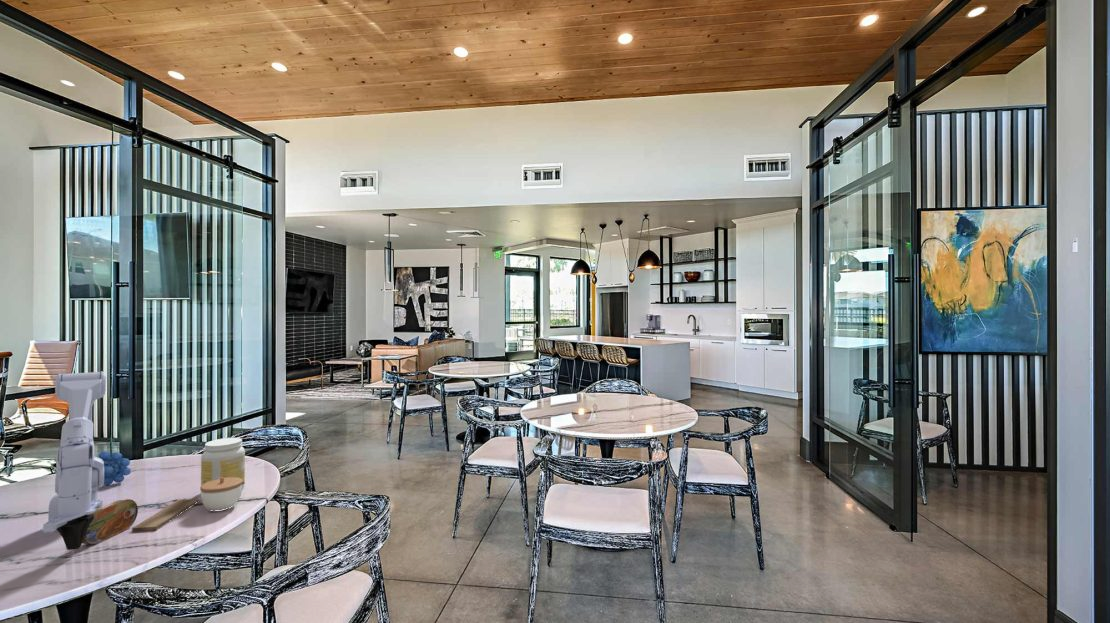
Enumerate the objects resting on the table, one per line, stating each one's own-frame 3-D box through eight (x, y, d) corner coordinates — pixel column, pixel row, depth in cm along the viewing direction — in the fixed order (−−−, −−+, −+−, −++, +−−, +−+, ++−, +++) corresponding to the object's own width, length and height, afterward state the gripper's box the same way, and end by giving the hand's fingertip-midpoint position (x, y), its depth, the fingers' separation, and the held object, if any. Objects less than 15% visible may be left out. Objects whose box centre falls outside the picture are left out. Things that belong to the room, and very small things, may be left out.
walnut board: (132, 531, 129) (132, 527, 129) (178, 503, 149) (178, 499, 149) (156, 530, 130) (156, 526, 130) (199, 502, 149) (199, 498, 149)
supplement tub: (248, 483, 167) (249, 435, 167) (239, 495, 155) (240, 444, 156) (207, 487, 162) (208, 438, 162) (194, 500, 151) (195, 447, 151)
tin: (84, 550, 119) (85, 517, 119) (72, 550, 119) (73, 516, 119) (138, 524, 134) (139, 494, 134) (128, 524, 134) (128, 494, 134)
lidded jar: (193, 517, 138) (193, 485, 139) (209, 503, 149) (209, 473, 149) (234, 513, 141) (235, 482, 141) (247, 499, 152) (247, 470, 152)
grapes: (82, 492, 157) (82, 456, 157) (86, 486, 162) (87, 451, 162) (128, 485, 164) (129, 450, 164) (131, 479, 169) (132, 446, 169)
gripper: (68, 504, 109) (67, 562, 109) (116, 482, 124) (115, 533, 123) (33, 505, 108) (31, 564, 108) (85, 483, 122) (84, 535, 122)
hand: (74, 548), depth 116 cm, fingers closed
